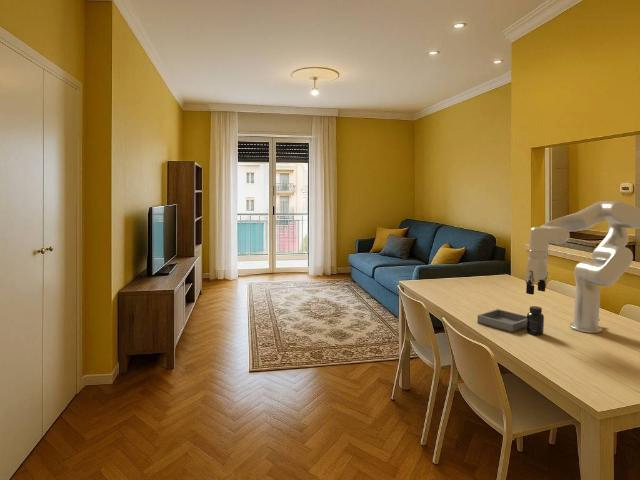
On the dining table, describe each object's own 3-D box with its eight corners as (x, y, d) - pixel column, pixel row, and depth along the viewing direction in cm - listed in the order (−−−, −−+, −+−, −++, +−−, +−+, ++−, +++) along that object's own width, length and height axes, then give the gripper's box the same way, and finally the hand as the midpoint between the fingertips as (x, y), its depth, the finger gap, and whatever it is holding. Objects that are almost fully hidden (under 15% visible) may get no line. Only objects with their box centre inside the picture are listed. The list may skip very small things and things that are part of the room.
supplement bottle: (527, 329, 188) (528, 304, 186) (544, 332, 184) (545, 306, 182) (525, 333, 182) (526, 308, 181) (542, 336, 178) (543, 310, 177)
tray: (497, 316, 208) (497, 308, 207) (532, 325, 193) (532, 317, 193) (477, 323, 198) (477, 315, 198) (512, 333, 183) (512, 324, 183)
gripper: (539, 252, 187) (537, 288, 189) (519, 255, 177) (517, 293, 179) (556, 254, 180) (553, 291, 182) (536, 257, 171) (533, 297, 173)
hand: (535, 292), depth 181 cm, fingers open, 9 cm apart
